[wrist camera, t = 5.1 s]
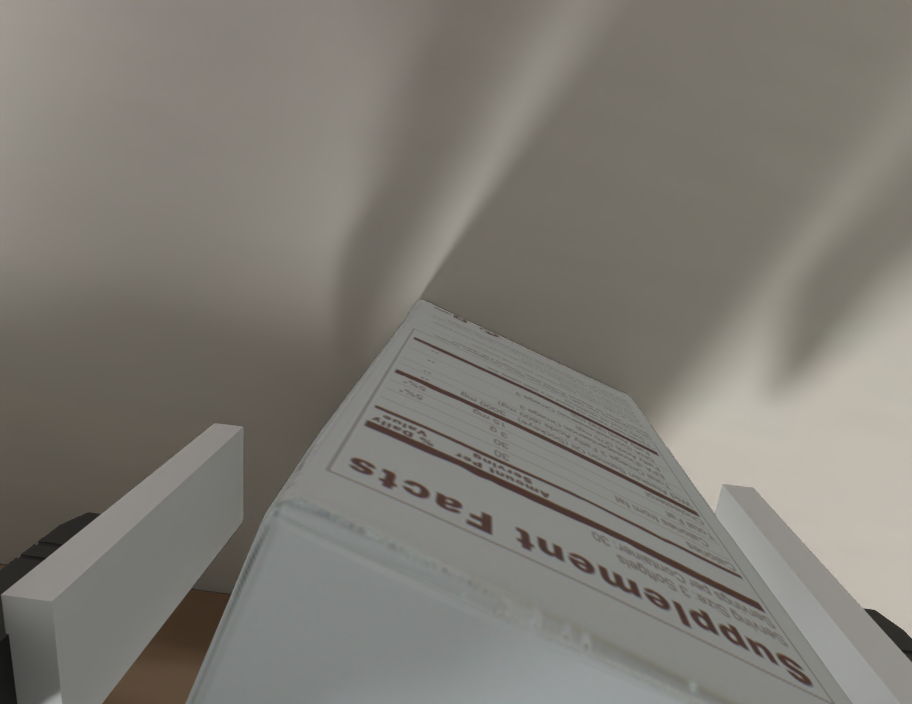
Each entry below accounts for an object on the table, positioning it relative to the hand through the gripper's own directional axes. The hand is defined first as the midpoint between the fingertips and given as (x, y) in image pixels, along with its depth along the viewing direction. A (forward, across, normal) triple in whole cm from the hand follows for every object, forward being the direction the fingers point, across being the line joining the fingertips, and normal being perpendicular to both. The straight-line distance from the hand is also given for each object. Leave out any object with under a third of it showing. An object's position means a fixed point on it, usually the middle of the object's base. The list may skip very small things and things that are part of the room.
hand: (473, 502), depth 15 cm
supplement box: (+4, 0, 0) cm, 4 cm away
